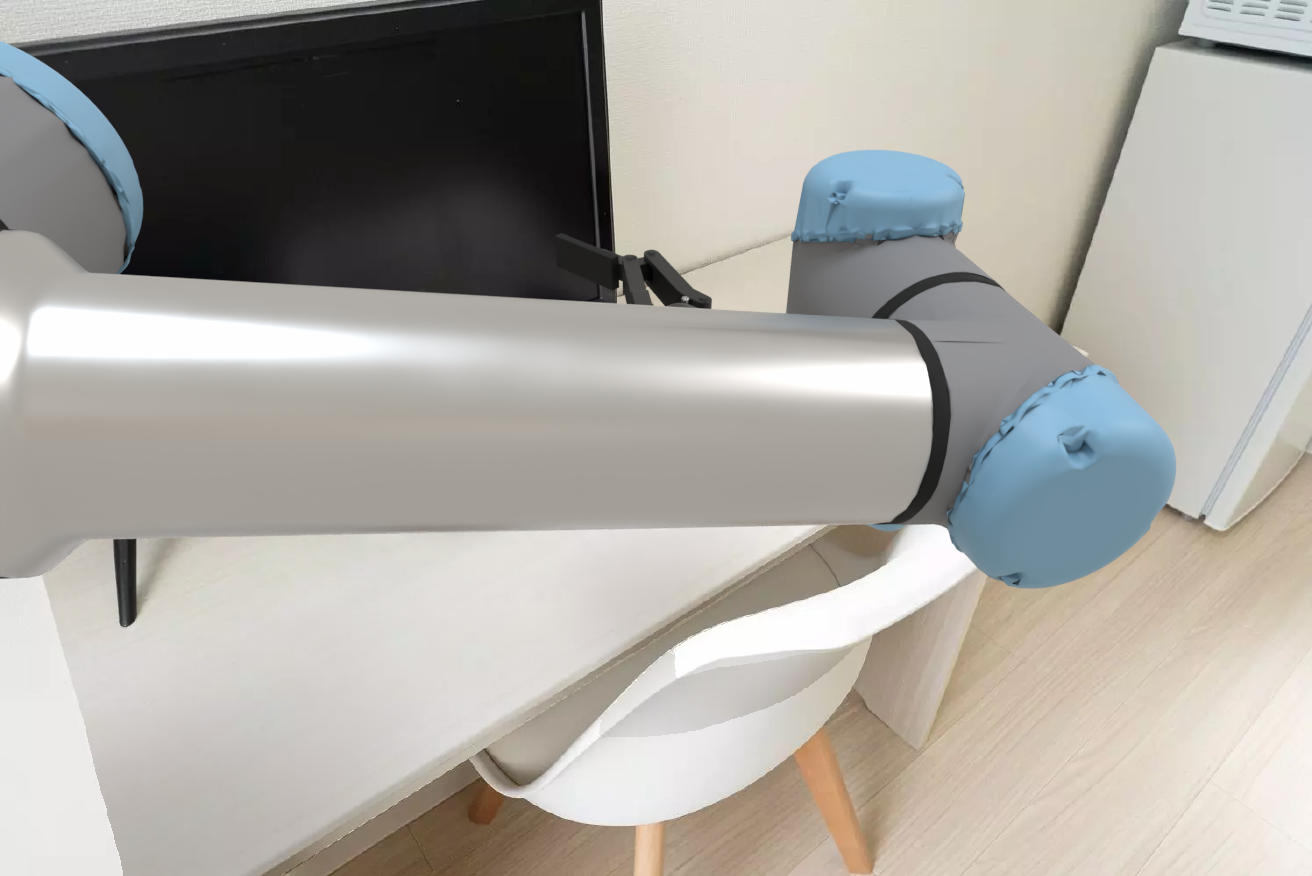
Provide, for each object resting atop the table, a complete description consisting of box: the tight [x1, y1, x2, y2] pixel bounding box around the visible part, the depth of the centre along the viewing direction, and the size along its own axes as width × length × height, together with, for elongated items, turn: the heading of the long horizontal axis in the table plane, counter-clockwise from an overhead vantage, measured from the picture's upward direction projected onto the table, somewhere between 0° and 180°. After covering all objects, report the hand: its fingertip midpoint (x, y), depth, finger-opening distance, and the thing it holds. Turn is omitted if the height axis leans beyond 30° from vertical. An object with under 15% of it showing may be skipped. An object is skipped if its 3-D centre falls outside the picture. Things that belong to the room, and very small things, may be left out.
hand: (493, 276), depth 63 cm, fingers open, 13 cm apart
